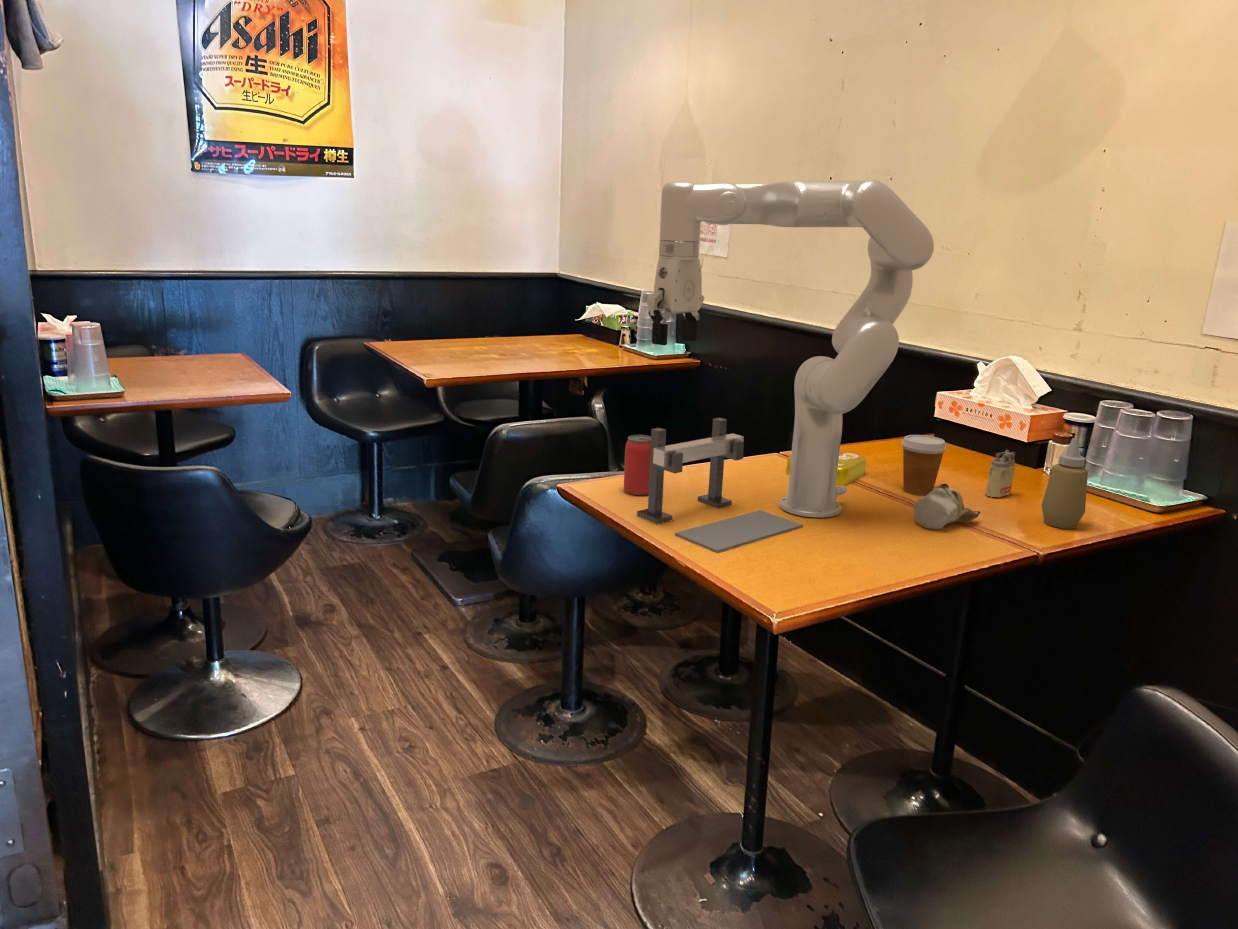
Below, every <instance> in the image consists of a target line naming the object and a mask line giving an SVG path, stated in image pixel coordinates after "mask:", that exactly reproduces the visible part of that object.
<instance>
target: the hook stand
mask: <svg viewBox="0 0 1238 929" xmlns="http://www.w3.org/2000/svg"><path fill="white" fill-rule="evenodd" d="M727 423H728V419H726V418H722V417H717V418H712V428H711V430H712V431H711V437H717V436H722V435H727V427H728V426H727V425H728V424H727ZM650 431H651V432H650V433H651V434H650V435H651V450H650V472H649V494H648V496H647V497H648V498H647V508H645V509H640V510H637V511H636V517H639V518H641V519H643V518H644V520H646V519H647V520H646V521H648V520H649V521H648V522H651V523H653V522H654V524H656V525H659V524H658V523H660V524H663V523H662V522H664V523H667V521H668V522H671V520H672V521H673V514H670V513H667V512H665V511H663V503H664V502H663V498H664V482H665V481H664V478H665V477H664V476H665V472H669V473H672V474H678V473H683V466H684V465H683V464H684V463H683V453H681V452H677V453H672V462H671V465H670V466H665V467H663V466H660V465H657V464H654V463H653V453H654V448H657V447H662V446H666V439H667V429H665V428H660V427H656V428H652V429H651V430H650ZM744 446H745V441H744V440H743V441H741V440H740V441H734V443H733V453H729V454H724V455H719V456H714V457H710V461H709V462H710V463H709V474H708V475H709V478H708V490H707V491H708V492H707V493H706V494H703V495H698V496H697V502H699V503H702V504H705V505H708V506H710V507H712V508H715V509H722V508H726V507H729V506H732V504H733V503H732V502H733V501H732V500H731V499H728V498H726V497H723V496H722V495H723V486H724V485H723V483H724V471H725V470H724V467H725V458H727V459H729V460H733V461H740V460H743V459H744V448H745V447H744Z"/></svg>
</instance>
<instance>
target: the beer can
mask: <svg viewBox="0 0 1238 929" xmlns="http://www.w3.org/2000/svg"><path fill="white" fill-rule="evenodd" d="M624 447H625V448H624V468H623V469H624V470H623V474H624V475H623V490H624V492H626V493H627V494H629V495H633V496H647V495H648V494H649V472H650V450H651V436H650V435H646V434H645V435H644V434H633V435H629V436H628V437H627V441H626V443H625V446H624Z"/></svg>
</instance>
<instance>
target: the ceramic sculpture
mask: <svg viewBox="0 0 1238 929" xmlns="http://www.w3.org/2000/svg"><path fill="white" fill-rule="evenodd" d="M980 514H981V511H980V510H972V509H970V508H968V507H965V504H964V499H963V496H962V494H961V493H960V491H958V490H956V489H952V488H951V487H950V486H949V485H948V484H947V483H941V484H940V485H937V486H934V489H933V490H932V491H931V492H930V493H929V494H928V495H922V496H921V497H920V498H919V499H917V501H916V502H915V503H914V504H913V515H914V518H915V520H916V522H917V524H919V525H920V526H922V527H923V528H925V529H928V530H941V529H942V528H943V527H945V526H946V525H947V524H952V523H955V522H963V523H964V522H965V523H966V522H967V523H968V522H971V521H974V520H975V519H977V518H978V517H979V515H980Z"/></svg>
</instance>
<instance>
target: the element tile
mask: <svg viewBox="0 0 1238 929" xmlns="http://www.w3.org/2000/svg"><path fill="white" fill-rule="evenodd" d="M786 460H787V461H786V470H785V471H786V472H785V473H786V475H788V476H790V465H791V455H789V456H788V457H787V459H786ZM866 463H867V458H866V456H864V455H858V454H855V453H849V452H842V451H840V452H839V461H838V471H837V480H836V486H841V485H844V486H846V485H848V484H851V483H852V482H854V481H856V480H857V479H859V478H861V477H863V476H864V475H865V474H866V473H865V472H866V466H867V465H866ZM862 475H863V476H862Z"/></svg>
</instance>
